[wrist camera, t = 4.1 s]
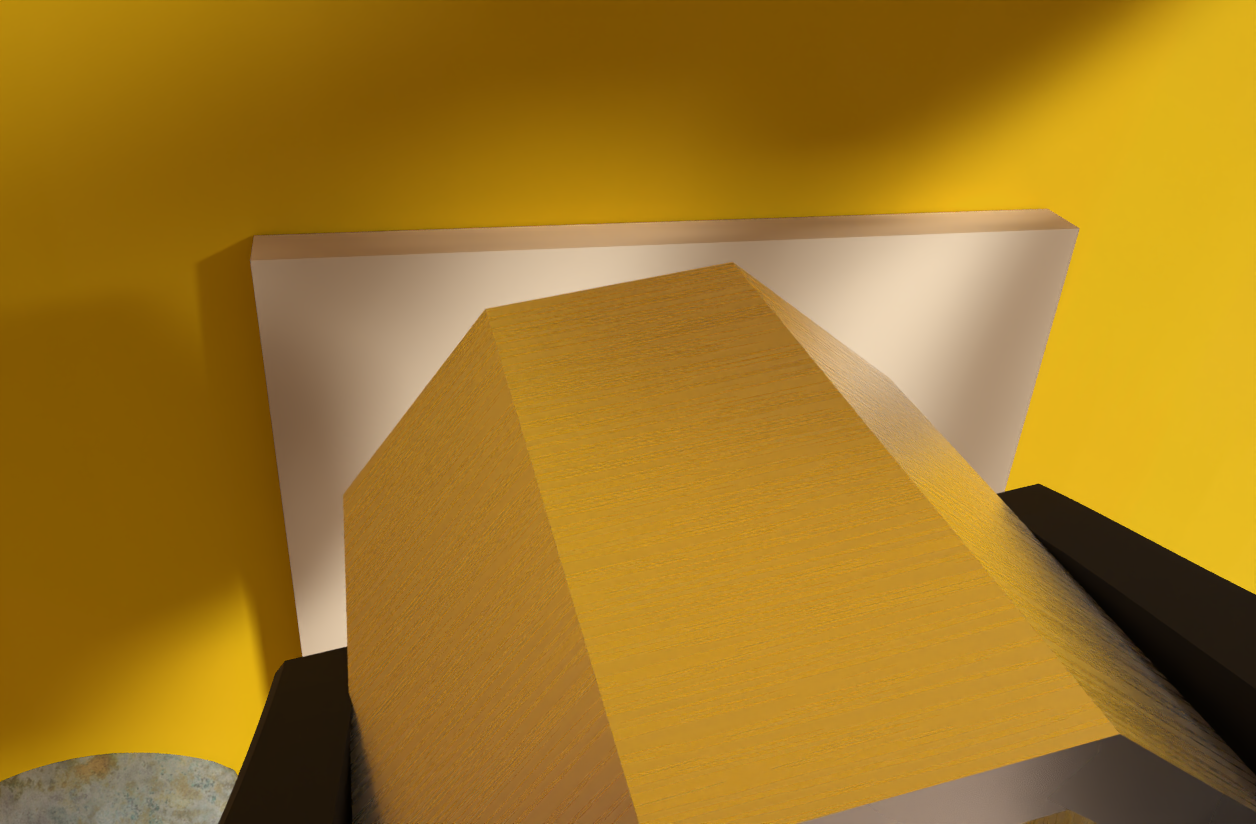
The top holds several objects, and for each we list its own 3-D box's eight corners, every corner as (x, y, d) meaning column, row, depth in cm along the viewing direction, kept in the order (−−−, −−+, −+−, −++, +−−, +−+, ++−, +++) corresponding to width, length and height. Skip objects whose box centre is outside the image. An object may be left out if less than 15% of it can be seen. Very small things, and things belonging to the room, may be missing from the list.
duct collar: (897, 229, 11) (1414, 651, 6) (876, 653, 14) (1196, 1167, 9) (299, 344, 10) (273, 968, 5) (424, 768, 13) (488, 1414, 8)
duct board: (1048, 208, 20) (1239, 328, 16) (938, 619, 25) (1061, 791, 21) (254, 235, 17) (231, 394, 12) (313, 701, 22) (311, 924, 17)
